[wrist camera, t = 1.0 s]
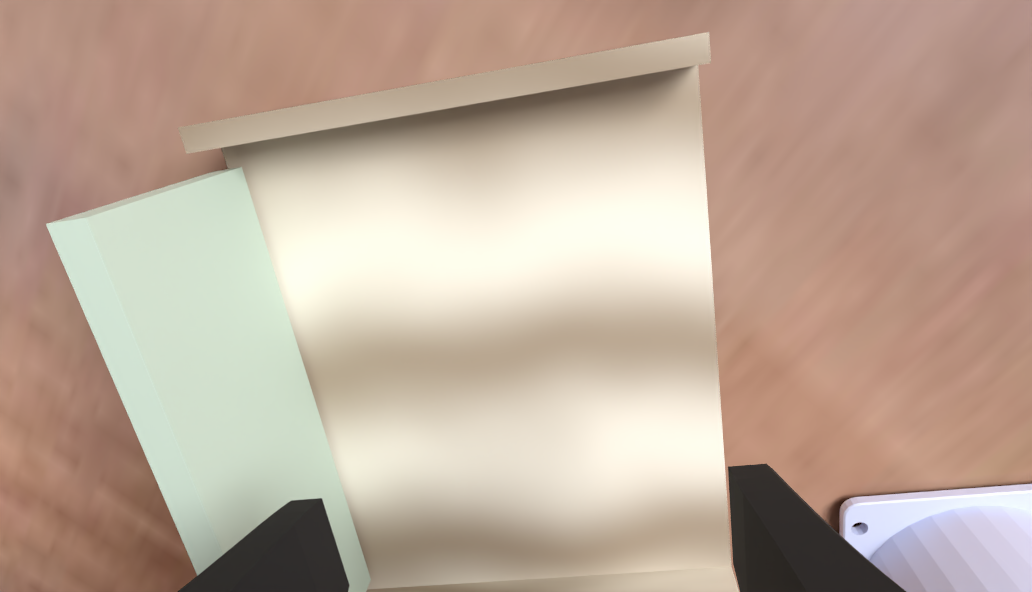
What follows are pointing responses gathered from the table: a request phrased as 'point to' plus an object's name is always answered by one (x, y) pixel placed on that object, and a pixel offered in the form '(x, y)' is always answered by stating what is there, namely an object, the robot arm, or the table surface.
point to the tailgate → (206, 361)
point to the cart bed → (508, 319)
